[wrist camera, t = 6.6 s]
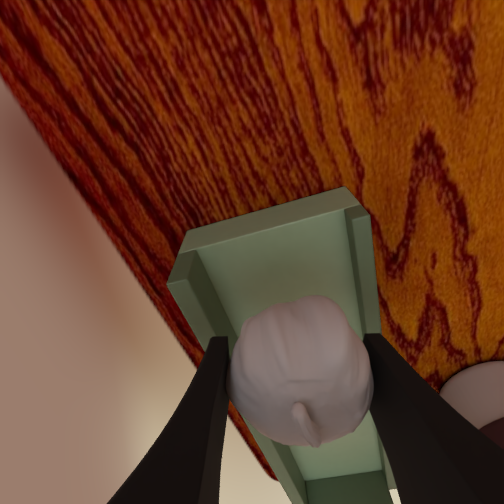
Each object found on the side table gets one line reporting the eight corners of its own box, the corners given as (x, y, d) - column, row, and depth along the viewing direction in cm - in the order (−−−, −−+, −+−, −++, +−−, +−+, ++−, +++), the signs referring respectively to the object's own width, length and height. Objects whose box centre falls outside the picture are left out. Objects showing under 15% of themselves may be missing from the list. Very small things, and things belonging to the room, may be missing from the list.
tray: (186, 230, 17) (165, 284, 12) (345, 185, 15) (383, 228, 11) (293, 457, 31) (300, 519, 26) (381, 444, 29) (403, 507, 25)
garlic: (235, 264, 11) (227, 389, 7) (371, 276, 12) (446, 402, 7) (225, 365, 14) (215, 495, 10) (332, 372, 15) (368, 501, 10)
